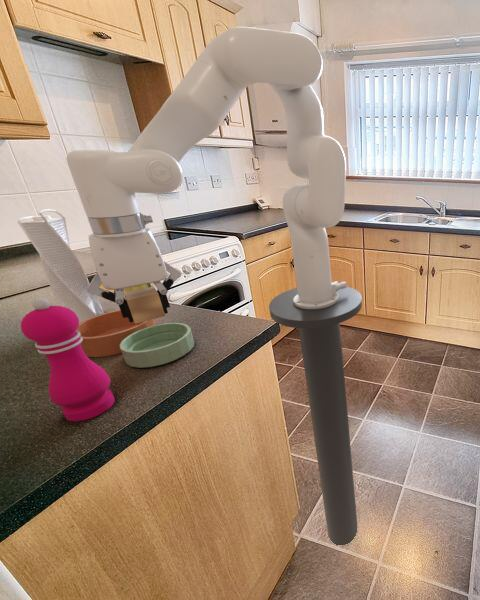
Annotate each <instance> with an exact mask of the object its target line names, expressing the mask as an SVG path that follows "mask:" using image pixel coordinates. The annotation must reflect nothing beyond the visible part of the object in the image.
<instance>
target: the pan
mask: <svg viewBox="0 0 480 600" xmlns="http://www.w3.org/2000/svg"><path fill="white" fill-rule="evenodd" d="M154 325H157V322H156V319H152V320H148V321H144V322H140V323H136V324H135V323H134V321H133V322H131V323H130V321H129V319H128V317H127V318H123V316H122V313H121V310H120V309H118V310H113V311H109V312H105V313H104V314H101V315H98V316H94V317H92V318H89V319H87V320H85V321H83V322H81V323H79V326H78V328H77V330H76V331H78V332H80V336H81V337H82V338H83V340H82V342H81V346H82V349H83V351H84V353H85V355H86V356H87V357H88V358H102V357H109V356H113V355H118V354H122V352H121V349H120V343H121V342H122V340H124V339H125V338H126V337H127V336H129V335H131V334H133V333H134V332H136V331H139V330H142V329H144V328H147V327H151V326H154Z"/></svg>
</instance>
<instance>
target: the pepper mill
mask: <svg viewBox="0 0 480 600" xmlns="http://www.w3.org/2000/svg"><path fill="white" fill-rule="evenodd" d="M32 307H33V308H34V309H33V310H31V311H30V312H28V313H26V314H25V315H24V317H23V318H22V320H21V321H20V330H21V332H22V334H23V336H25V337H26V338H27V339H28V340H31V341H34V342H35V343H34V348H36V349H37V352H38V353H39V354H41V355H44V356H45V357H46V360H47V361H48V364H49V369H50V374H49V381H48V395H49V398H50V400H51V402H52V403H53V404H54V405H56V406H59V407H62V408H61V412H62V413H63V416H64V418H65V419H66V420H67V421H69V422H72V423H73V422H74V423H75V422H83V421H87V420H90V419H94V418H96V417H97V416H100V415H102V414H103V413H105V412H106V411H108V410H109V409H110V408H111V407H112V406H113V405H114V404H115V401H116V400H115V399H116V398H115V396H114V394H113V391H112V390H111V389H109V388H110V386H111V378H110V376H109V374H108V373H107V371H106V370H105V369H104V368H103V367H102V366H100V365H98V364H97V363H95V362H94V361H92V360H91V359H90V357H87V356H86V355H85V353H84V351H83V349H82V346H81V342H82V340H83V338H82V337H81V336H80V332H78V331H76V330H77V328H78V326H79V319H78V317H77V315H76V314H75V313H74V312H73V311H72V310H70V309H69V308H66V307H62V306H61V305H51V301H50V300H49V299H47V298H45V297H38V298H35V299H34V300H33V301H32Z"/></svg>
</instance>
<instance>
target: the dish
mask: <svg viewBox="0 0 480 600" xmlns="http://www.w3.org/2000/svg"><path fill="white" fill-rule="evenodd" d="M194 346H195V339H194V336H193V332H192V329H191V327H190V326H189V325H188V324H186V323H183V322H165V323H160V324H156V325H154V326H151V327H147V328H144V329H142V330H139V331H136V332H134V333H133V334H131V335H129V336H127V337H126V338H125V339H124V340H122V342H121V343H120V349H121V352H122V353H121V354H122V356H123V360H124V361H125V364H126V365H128V366H129V367H132V368H153V367H158V366H162V365H166V364H168V363H171V362H174V361H176V360H178V359H180V358H182V357H184V356H185V355H186V354H188V353H189V352H190V351H192V349H193V348H194Z"/></svg>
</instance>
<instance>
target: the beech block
mask: <svg viewBox="0 0 480 600" xmlns="http://www.w3.org/2000/svg"><path fill="white" fill-rule="evenodd" d="M124 298H125V300H126V301H127V303H128V306H129V309H130V312H131V314H132V317H133V320H134V323H135V324H136V323H140V322H144V321H148V320H152V319H155V320H156V319H159V318H163V317H166V314H165V313H164V310H163V307H162V304H161V301H160V297H159V294H158V292H157V288H156V287H155V286H153V287H149V288H144V289H139V290H134V291H129V292H125V291H124Z"/></svg>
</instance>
